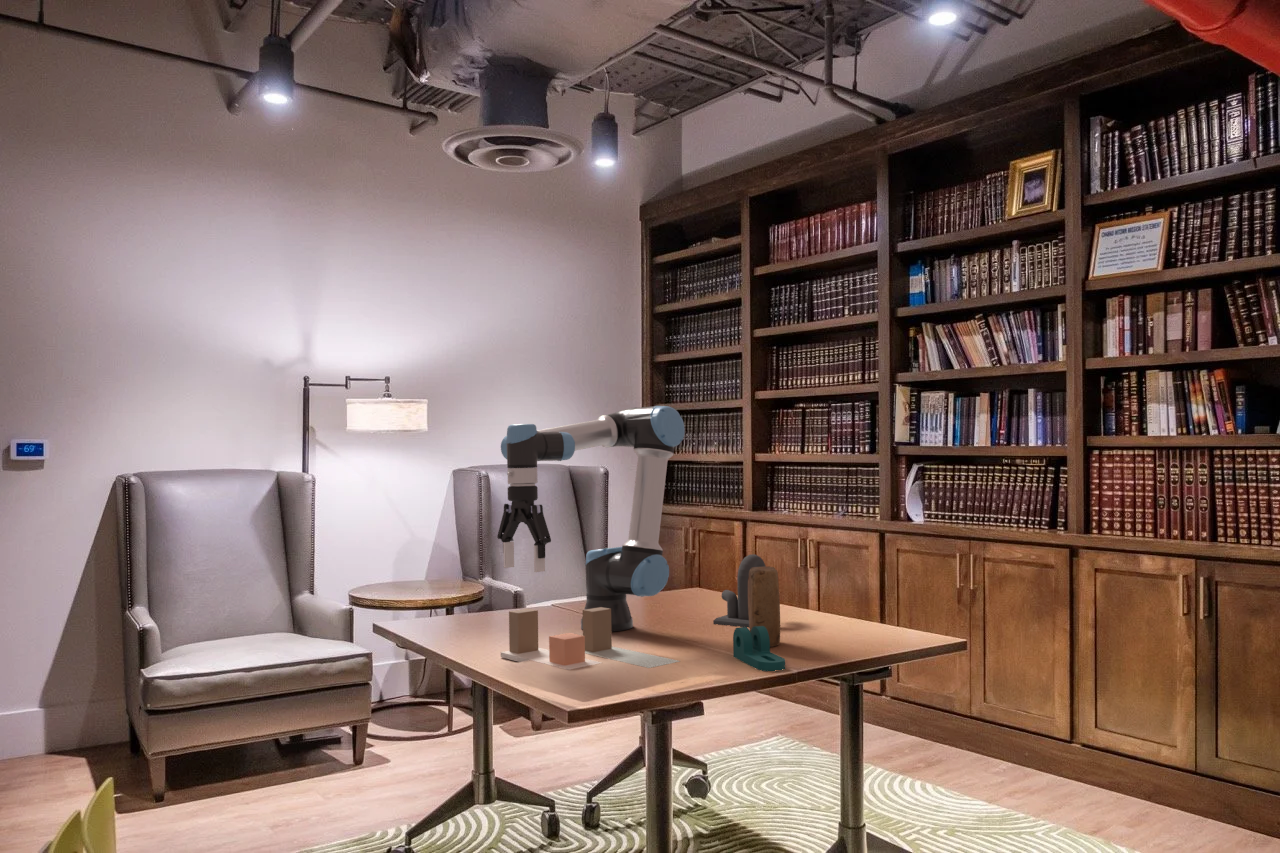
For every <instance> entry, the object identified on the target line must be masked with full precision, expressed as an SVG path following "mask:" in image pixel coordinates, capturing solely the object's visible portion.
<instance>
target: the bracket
mask: <svg viewBox="0 0 1280 853" xmlns="http://www.w3.org/2000/svg"><path fill="white" fill-rule="evenodd" d="M732 642H733V643H732V644H733V646H732V648H733V650H732V651H733V653H732V654H733V658H735V659H737V660H738V661H740V662H742V663H744V664H746V665H748V666H750V667H752V668H754V669H755V668H756V669H755V670H758V671H760V670H762V672H768V671H775V670H782V669H785V670H786V659H785V658H784V657H782V656H781V655H778V654H776V653H773V652H771V647H770V639H769V634H768V631H767V629H766V627H764V626H754V627H752V629H751V633H750V628H747V627H736V628H735V629H734V630H733V634H732ZM782 671H783V670H782ZM775 672H776V671H775Z"/></svg>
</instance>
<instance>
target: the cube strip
mask: <svg viewBox="0 0 1280 853" xmlns="http://www.w3.org/2000/svg"><path fill="white" fill-rule="evenodd" d="M508 626H509V627H508V634H509V635H508V637H509V640H508V641H509V644H508V645H509V649H508V650H506V651H500V658H503V659H507V660H511V661H515V662H518V663H522V662H527V661H533V662H536V663H541V664H543V665H548V666H551V667H556V668H560V669H564V670H568V671H569V670H573V669H579V668H584V667H585V668H586V667H590V666H594V665H599V664H602V662H600V661H597V660H592V659H588V658H585V662H580V663H575V664H570V665H561V664H557V663H553V662H550V660H549V649H546V648H541V647H539V609H538V610H537V609H532V608H522V609H518V610H517V609H516V610H510V611H508Z"/></svg>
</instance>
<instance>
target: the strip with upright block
mask: <svg viewBox="0 0 1280 853" xmlns="http://www.w3.org/2000/svg"><path fill="white" fill-rule="evenodd" d="M582 617H583V629H582V636H585V655H586V654H587V655H590V656H596V657H600V658H604V659H609V660H613V661H616V662H617V661H618V662H621V663H625V664H628V665H629V664H630V665H633V666H634V665H635V666H638V667H642V668H647V669H651V668H656V667H660V666H665V665H669V664H670V665H671V664H675V663H680V662H681V660H678V659H672V658H668V657H664V656H658V655H653V654H650V653H644V652H640V651H636V650H631V649H625V648H622V647H616V646H613V645H612V644H613V643H612V642H613V641H612V632H611V609H609V608H603V607H599V608H592V609H586V610H584V609H582Z"/></svg>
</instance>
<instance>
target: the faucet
mask: <svg viewBox="0 0 1280 853" xmlns="http://www.w3.org/2000/svg"><path fill="white" fill-rule="evenodd" d="M753 567H767V566H766V564H765V561H764V560H763V559H762V558H761V556H759V555H757V554H754V553H753V554H748V555H747V556H745V557H744V558H743V559H742V560H741V562H740V564H739V567H738V570H737V580H736V581H737V594H736V593H735V592H734V591H732V590H729V589H724V590H723V591H722V592H721V598H722V600H723V601H725V602H726V611H727V613H726V614H725V615H722V616H718V617H715V618H714V620H713V623H712V624H713V625H716V624H718V625H719V626H727V625H730V626H729V627H737V626H740V627H749V614H748V577H749V571H750V569H751V568H753ZM718 625H717V626H718ZM740 627H739V628H740Z"/></svg>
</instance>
